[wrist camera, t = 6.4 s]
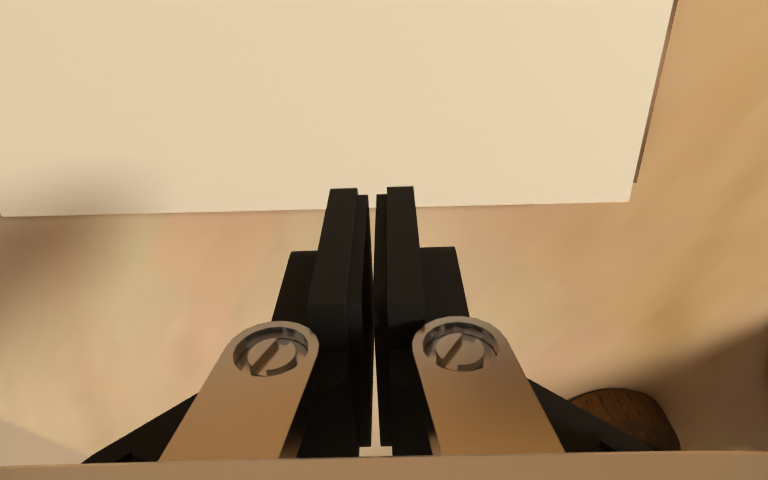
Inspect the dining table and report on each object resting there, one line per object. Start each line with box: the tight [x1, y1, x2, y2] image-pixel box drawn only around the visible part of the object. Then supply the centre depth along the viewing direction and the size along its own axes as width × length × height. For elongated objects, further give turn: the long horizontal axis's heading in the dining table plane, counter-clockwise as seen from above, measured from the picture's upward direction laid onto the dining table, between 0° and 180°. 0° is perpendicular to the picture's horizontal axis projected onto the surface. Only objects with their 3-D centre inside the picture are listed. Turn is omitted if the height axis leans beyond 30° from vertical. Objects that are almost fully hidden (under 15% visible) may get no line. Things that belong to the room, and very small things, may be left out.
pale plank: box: [0, 0, 674, 217], centre depth 20 cm, size 9×24×2 cm, turn 91°
